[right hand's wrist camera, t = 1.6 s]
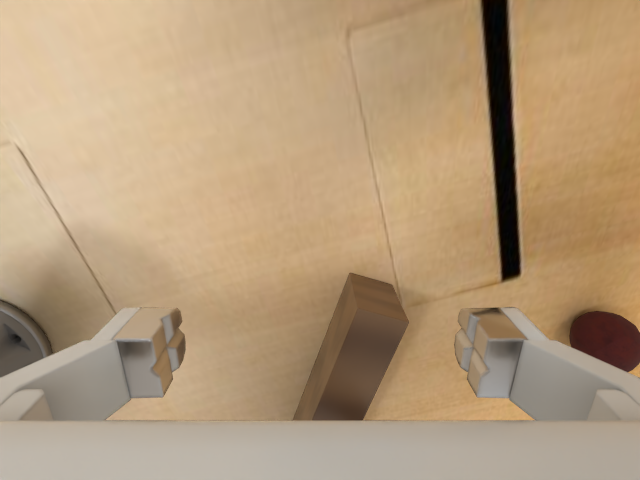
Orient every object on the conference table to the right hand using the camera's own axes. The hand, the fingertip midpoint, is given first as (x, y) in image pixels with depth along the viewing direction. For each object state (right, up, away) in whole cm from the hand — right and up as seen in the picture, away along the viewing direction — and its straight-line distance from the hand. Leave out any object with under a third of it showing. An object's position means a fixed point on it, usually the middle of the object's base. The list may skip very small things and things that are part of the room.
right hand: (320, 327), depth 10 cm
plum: (+35, -9, +37) cm, 51 cm away
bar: (+2, -15, +38) cm, 41 cm away
